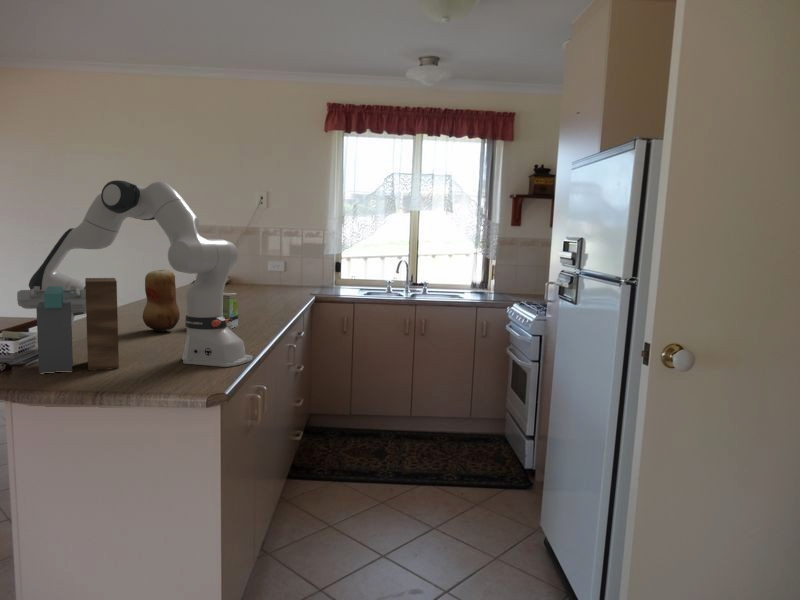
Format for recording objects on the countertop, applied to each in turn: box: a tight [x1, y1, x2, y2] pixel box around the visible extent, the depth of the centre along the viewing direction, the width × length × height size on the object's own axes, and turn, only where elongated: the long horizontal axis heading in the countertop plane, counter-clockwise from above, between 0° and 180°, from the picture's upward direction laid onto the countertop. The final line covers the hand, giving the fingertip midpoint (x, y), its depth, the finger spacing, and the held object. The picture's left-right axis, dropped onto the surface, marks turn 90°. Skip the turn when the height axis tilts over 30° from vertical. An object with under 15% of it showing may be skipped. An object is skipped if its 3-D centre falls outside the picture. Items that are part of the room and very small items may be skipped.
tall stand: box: [84, 277, 120, 371], centre depth 170 cm, size 12×8×26 cm, turn 29°
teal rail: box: [44, 286, 64, 308], centre depth 165 cm, size 20×4×4 cm, turn 29°
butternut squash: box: [142, 268, 181, 333], centre depth 226 cm, size 14×13×25 cm
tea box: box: [223, 292, 239, 330], centre depth 240 cm, size 15×10×15 cm, turn 84°
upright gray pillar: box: [35, 301, 74, 374], centre depth 164 cm, size 12×8×19 cm, turn 29°
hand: (55, 288), depth 171 cm, fingers open, 8 cm apart
